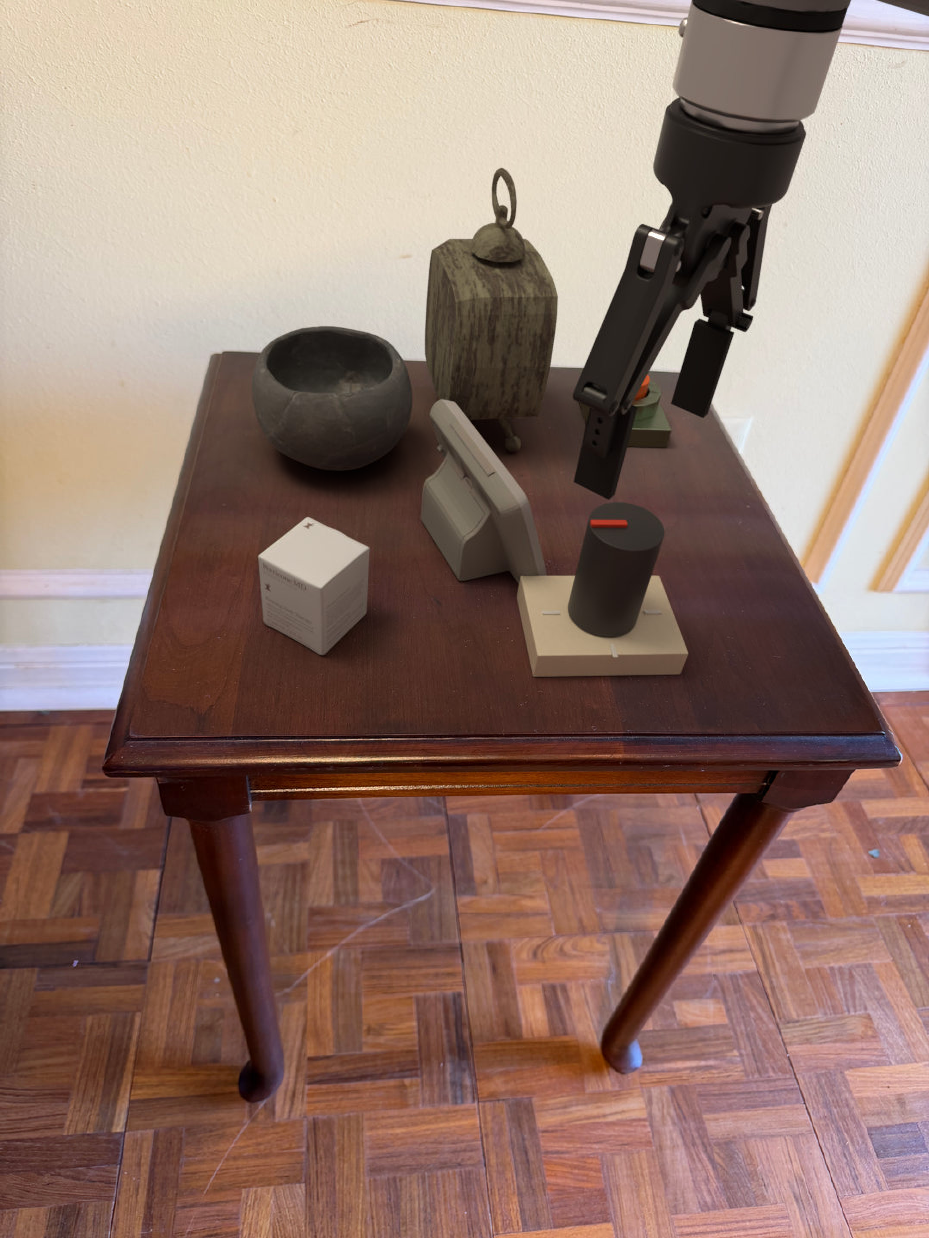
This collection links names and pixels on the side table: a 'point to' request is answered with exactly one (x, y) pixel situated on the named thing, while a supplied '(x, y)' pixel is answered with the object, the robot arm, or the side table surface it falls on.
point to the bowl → (332, 396)
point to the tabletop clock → (491, 321)
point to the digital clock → (477, 505)
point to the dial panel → (582, 654)
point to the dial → (614, 568)
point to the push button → (643, 389)
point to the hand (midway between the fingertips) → (644, 446)
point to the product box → (314, 584)
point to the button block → (646, 420)
